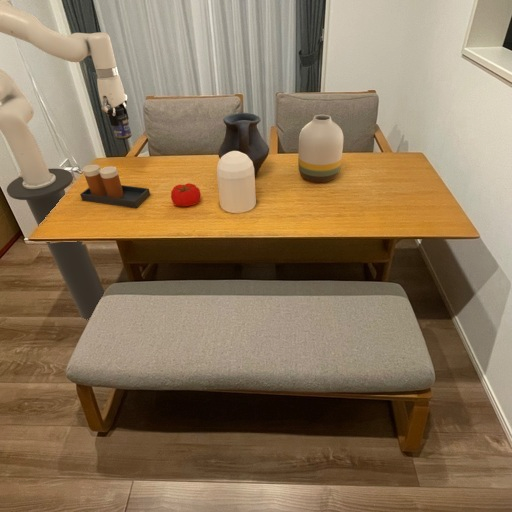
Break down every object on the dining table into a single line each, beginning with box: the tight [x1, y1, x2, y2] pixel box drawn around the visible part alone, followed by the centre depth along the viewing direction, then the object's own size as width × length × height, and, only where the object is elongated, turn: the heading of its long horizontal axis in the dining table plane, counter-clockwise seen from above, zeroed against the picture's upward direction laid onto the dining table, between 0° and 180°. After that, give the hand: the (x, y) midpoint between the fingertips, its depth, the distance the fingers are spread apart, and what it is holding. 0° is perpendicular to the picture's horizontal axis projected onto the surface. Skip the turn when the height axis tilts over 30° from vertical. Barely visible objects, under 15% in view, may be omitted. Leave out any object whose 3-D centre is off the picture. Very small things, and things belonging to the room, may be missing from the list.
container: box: [216, 151, 257, 214], centre depth 137 cm, size 14×13×20 cm
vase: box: [297, 114, 344, 183], centre depth 150 cm, size 17×17×24 cm
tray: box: [79, 184, 151, 209], centre depth 150 cm, size 24×10×3 cm, turn 73°
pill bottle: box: [110, 106, 133, 141], centre depth 150 cm, size 6×6×11 cm
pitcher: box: [218, 112, 270, 176], centre depth 154 cm, size 21×22×25 cm
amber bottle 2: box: [100, 165, 124, 199], centre depth 147 cm, size 6×6×11 cm
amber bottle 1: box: [82, 163, 107, 196], centre depth 149 cm, size 6×6×11 cm
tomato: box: [170, 182, 202, 207], centre depth 143 cm, size 10×11×6 cm
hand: (120, 122), depth 149 cm, fingers closed on pill bottle, 6 cm apart
